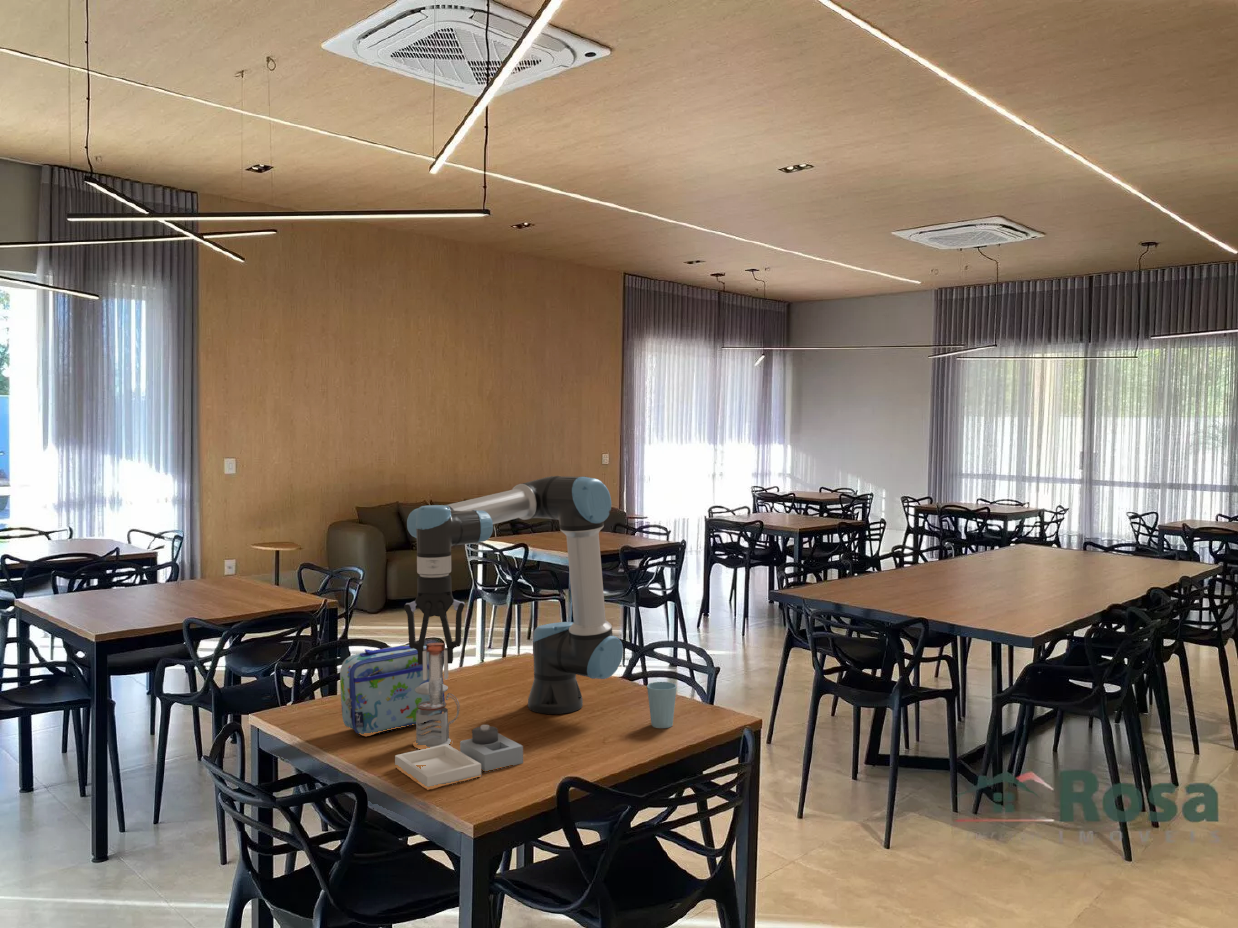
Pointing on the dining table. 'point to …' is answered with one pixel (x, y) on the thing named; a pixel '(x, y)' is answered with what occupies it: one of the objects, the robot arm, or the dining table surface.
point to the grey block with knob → (491, 748)
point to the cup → (661, 703)
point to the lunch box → (382, 689)
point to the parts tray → (438, 765)
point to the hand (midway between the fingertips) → (435, 677)
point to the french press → (436, 734)
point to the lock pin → (435, 673)
